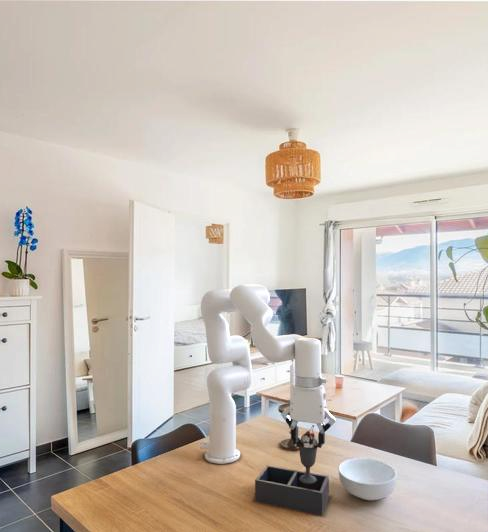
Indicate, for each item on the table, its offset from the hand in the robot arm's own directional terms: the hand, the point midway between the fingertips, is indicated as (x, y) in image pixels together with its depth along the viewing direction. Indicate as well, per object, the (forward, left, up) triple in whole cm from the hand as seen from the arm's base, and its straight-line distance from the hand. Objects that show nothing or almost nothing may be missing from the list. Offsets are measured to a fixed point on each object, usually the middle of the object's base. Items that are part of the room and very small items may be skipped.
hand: (308, 443), depth 115 cm
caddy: (-5, 0, -17) cm, 17 cm away
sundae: (0, 0, -10) cm, 10 cm away
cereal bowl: (+15, +11, -17) cm, 25 cm away
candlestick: (-15, +36, -17) cm, 42 cm away
